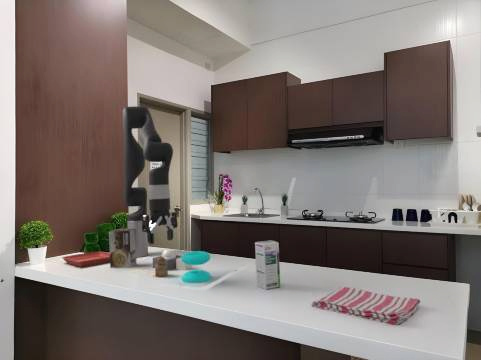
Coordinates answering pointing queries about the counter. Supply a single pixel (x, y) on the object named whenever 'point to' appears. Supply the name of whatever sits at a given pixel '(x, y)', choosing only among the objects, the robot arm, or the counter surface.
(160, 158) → the robot arm
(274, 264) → the syrup box
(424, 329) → the counter surface
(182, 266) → the die
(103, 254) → the plant saucer
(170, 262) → the board
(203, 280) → the donuts
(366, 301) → the dish towel
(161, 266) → the pawn
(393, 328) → the counter surface
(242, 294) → the counter surface
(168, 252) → the dome
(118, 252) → the coffee box
